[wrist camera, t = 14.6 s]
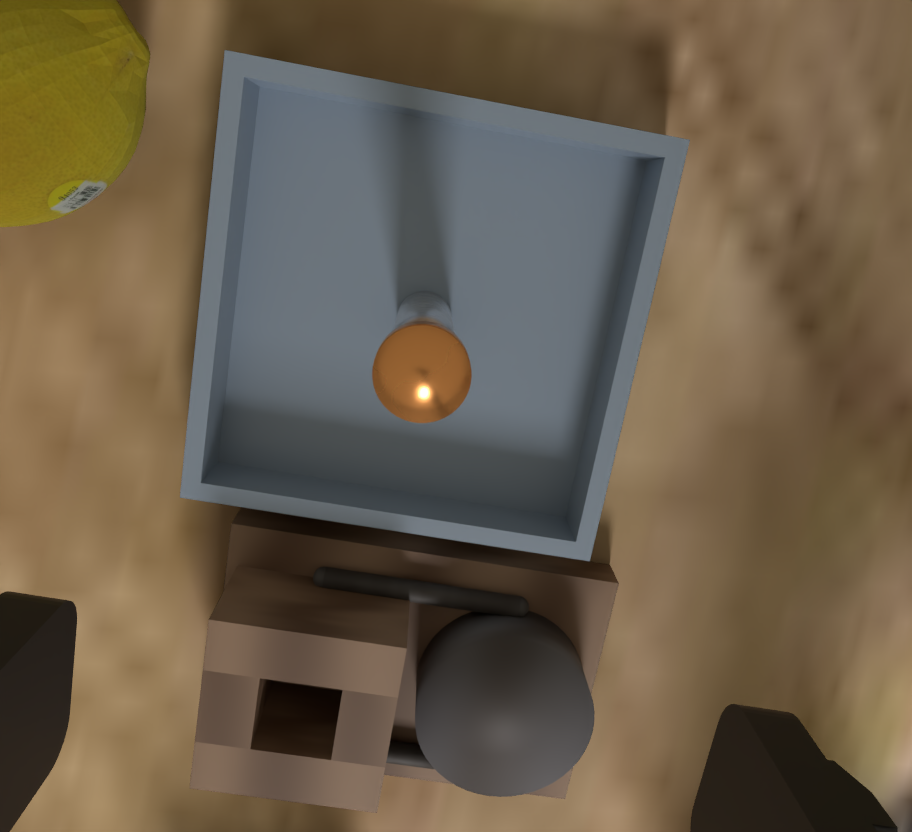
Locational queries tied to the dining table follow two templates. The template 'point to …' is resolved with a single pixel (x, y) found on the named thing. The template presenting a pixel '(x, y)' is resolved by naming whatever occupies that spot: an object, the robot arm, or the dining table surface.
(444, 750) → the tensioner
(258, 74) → the tray
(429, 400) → the lock pin
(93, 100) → the lemon
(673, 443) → the dining table surface
